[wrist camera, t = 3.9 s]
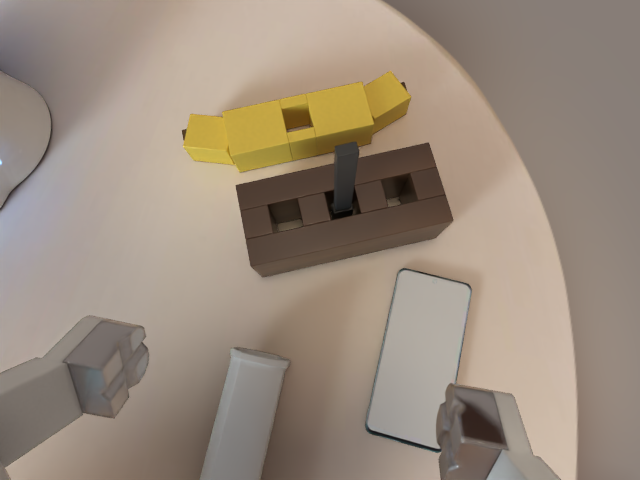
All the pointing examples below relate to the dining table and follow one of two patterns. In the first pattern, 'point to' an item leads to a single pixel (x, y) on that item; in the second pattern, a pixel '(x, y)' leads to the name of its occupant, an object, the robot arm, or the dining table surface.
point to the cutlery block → (349, 232)
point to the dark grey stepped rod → (344, 179)
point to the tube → (245, 416)
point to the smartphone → (418, 357)
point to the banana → (296, 124)
